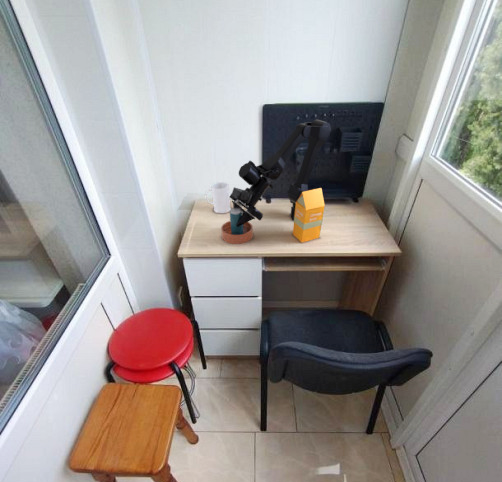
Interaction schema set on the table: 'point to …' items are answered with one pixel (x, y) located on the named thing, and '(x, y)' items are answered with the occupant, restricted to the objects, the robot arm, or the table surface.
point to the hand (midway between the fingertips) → (233, 223)
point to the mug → (220, 197)
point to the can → (236, 221)
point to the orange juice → (308, 215)
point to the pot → (237, 239)
